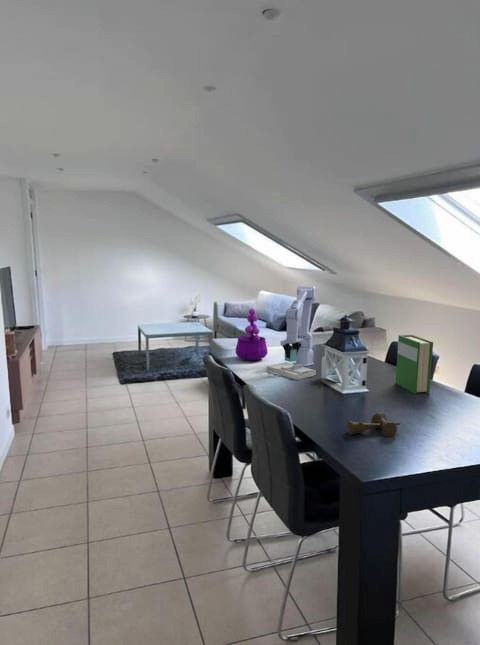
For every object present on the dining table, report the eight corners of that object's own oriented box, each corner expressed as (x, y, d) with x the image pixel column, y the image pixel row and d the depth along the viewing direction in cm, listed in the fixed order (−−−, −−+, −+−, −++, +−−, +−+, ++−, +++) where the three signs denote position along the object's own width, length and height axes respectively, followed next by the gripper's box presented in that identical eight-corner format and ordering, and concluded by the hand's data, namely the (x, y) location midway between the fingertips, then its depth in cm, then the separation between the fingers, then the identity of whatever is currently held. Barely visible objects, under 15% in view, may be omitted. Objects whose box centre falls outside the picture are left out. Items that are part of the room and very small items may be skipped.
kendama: (342, 430, 176) (393, 426, 179) (353, 441, 166) (406, 436, 170) (343, 415, 175) (394, 410, 178) (353, 425, 165) (407, 420, 168)
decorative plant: (230, 357, 287) (230, 307, 282) (258, 354, 294) (258, 306, 290) (244, 364, 270) (244, 311, 265) (272, 361, 278) (274, 309, 273)
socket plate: (285, 366, 265) (286, 361, 265) (318, 376, 247) (318, 370, 246) (266, 370, 257) (267, 364, 256) (299, 380, 238) (299, 374, 238)
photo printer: (319, 378, 242) (320, 354, 240) (325, 377, 244) (326, 353, 242) (335, 383, 234) (336, 358, 232) (341, 382, 237) (342, 357, 235)
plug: (290, 359, 255) (290, 345, 254) (296, 360, 252) (296, 347, 251) (284, 360, 252) (284, 346, 251) (290, 361, 249) (290, 348, 248)
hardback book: (429, 393, 219) (433, 342, 216) (414, 394, 218) (418, 342, 214) (409, 382, 237) (412, 334, 233) (395, 383, 235) (398, 335, 232)
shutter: (301, 368, 251) (301, 363, 251) (310, 371, 246) (311, 366, 245) (291, 370, 247) (291, 365, 246) (301, 373, 241) (301, 368, 241)
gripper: (296, 329, 257) (295, 354, 259) (276, 331, 248) (276, 357, 250) (306, 331, 251) (305, 356, 253) (286, 333, 242) (285, 360, 244)
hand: (291, 357), depth 251 cm, fingers closed on plug, 4 cm apart
